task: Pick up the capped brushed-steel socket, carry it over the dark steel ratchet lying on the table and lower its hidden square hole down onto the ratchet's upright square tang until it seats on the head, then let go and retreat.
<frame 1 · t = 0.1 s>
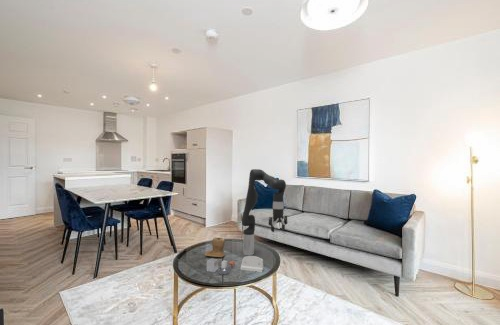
hand: (277, 231, 167), 29 cm above the table, fingers open, 8 cm apart
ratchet: (224, 272, 166), on the table
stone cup: (215, 256, 200), on the table
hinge: (252, 269, 174), on the table
socket: (212, 270, 170), on the table
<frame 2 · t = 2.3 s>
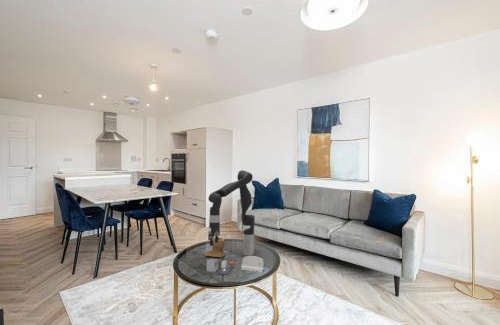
hand: (214, 244, 171), 19 cm above the table, fingers open, 8 cm apart
nothing on the table moved.
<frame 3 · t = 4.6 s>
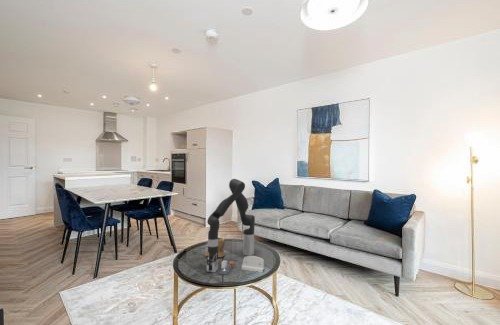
hand: (212, 268, 170), 1 cm above the table, fingers closed on socket, 6 cm apart
socket: (212, 270, 170), on the table, touching gripper
everything else where it was.
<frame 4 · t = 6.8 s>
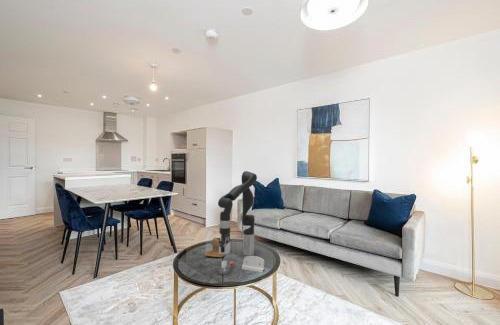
hand: (224, 250, 167), 15 cm above the table, fingers closed on socket, 6 cm apart
socket: (224, 252, 167), point 14 cm above the table, touching gripper
everything else where it was.
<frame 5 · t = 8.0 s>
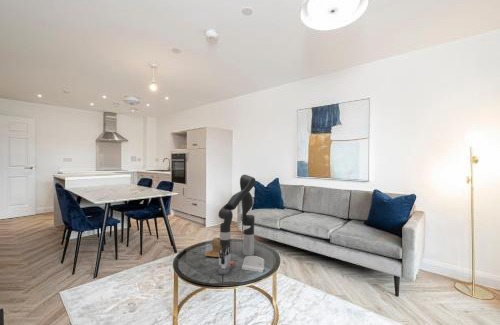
hand: (224, 262, 166), 7 cm above the table, fingers closed on socket, 6 cm apart
socket: (224, 264, 166), point 6 cm above the table, touching gripper
when the fingers open (5 cm above the table, at t = 8.9 s): socket drops 1 cm, resting on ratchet.
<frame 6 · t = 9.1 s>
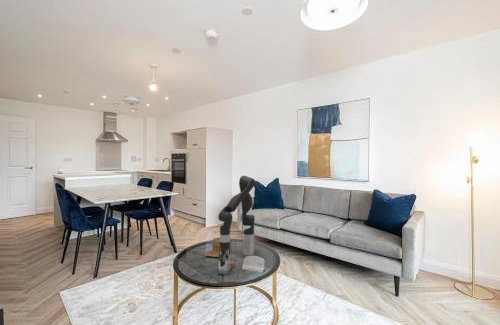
hand: (224, 264, 166), 6 cm above the table, fingers open, 8 cm apart
socket: (224, 268, 166), point 3 cm above the table, touching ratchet
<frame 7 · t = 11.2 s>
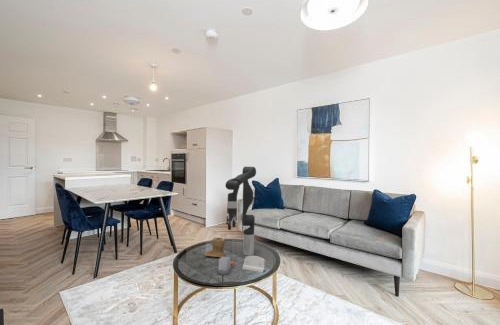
hand: (231, 228, 180), 28 cm above the table, fingers open, 8 cm apart
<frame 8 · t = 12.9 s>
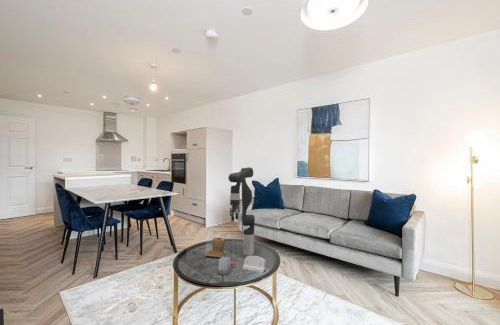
hand: (234, 220, 185), 33 cm above the table, fingers open, 8 cm apart
at the end: socket 0.0 cm off-centre on the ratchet, point 3.0 cm above the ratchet's base; socket tilted 0°; the gripper is holding nothing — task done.
